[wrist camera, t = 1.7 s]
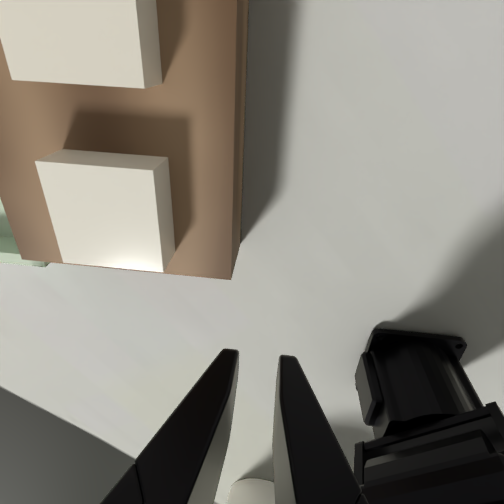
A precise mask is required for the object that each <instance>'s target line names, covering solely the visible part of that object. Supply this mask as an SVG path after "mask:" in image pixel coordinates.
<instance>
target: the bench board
mask: <svg viewBox="0 0 504 504" xmlns="http://www.w3.org/2000/svg"><path fill="white" fill-rule="evenodd" d="M156 7H157V20H158V33H159V45H160V58H161V71H162V84H161V85H157V86H153V87H149V88H145V89H142V88H127V87H112V86H97V85H81V84H66V83H51V82H35V81H20V80H12V78H11V75H10V71H9V68H8V64H7V60H6V57H5V53H4V50H3V46H2V43H1V39H0V199H1V202H2V204H3V207H4V210H5V213H6V216H7V219H8V221H9V224H10V227H11V230H12V233H13V236H14V238H15V241H16V244H17V247H18V250H19V253H20V255H21V258H22V260H32V261H42V262H52V263H62V264H71V263H63V260H62V257H61V253H60V249H59V246H58V242H57V239H56V235H55V232H54V228H53V224H52V221H51V217H50V214H49V210H48V207H47V203H46V199H45V196H44V192H43V189H42V185H41V182H40V178H39V175H38V171H37V167H36V164H35V161H36V160H38V159H41V158H43V157H45V156H48V155H50V154H52V153H55V152H57V151H59V150H62V149H68V150H81V151H94V152H107V153H120V154H133V155H146V156H159V157H168V162H169V175H170V188H171V200H172V213H173V226H174V239H175V253H174V255H173V257H172V258H171V260H170V262H169V264H168V265H167V267H166V269H165V271H164V272H155V273H165V274H175V275H185V276H196V277H206V278H216V279H226V280H231V278H232V274H233V270H234V266H235V262H236V259H237V255H238V251H239V247H240V236H241V208H242V180H243V152H244V125H245V97H246V69H247V41H248V14H249V0H156ZM73 265H81V264H73ZM83 266H91V265H83ZM93 267H102V266H93ZM103 268H112V267H103ZM114 269H122V268H114ZM124 270H133V269H124ZM134 271H143V270H134ZM144 272H153V271H144Z"/></svg>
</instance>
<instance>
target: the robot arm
mask: <svg viewBox="0 0 504 504" xmlns="http://www.w3.org/2000/svg"><path fill="white" fill-rule="evenodd" d="M378 335H381V336H378ZM466 347H467V344H466V342H465V340H464V339H463V338H461V337H455V336H445V335H436V334H426V333H416V332H407V331H397V330H387V329H375V330H373V331H372V333H371V335H370V338H369V342H368V345H367V348H366V351H365V352H363V353H362V354H361V357H360V360H359V363H358V367H357V370H356V373H355V380H356V383H355V385H356V390H357V391H358V395H359V400H360V405H361V410H362V415H363V420H364V422H365V424H366V425H367V426H372V427H373V432H374V436H375V439H374V440H371V441H367V442H364V441H362V442H359V443H355V457H354V473H353V471H352V469H351V467H350V465H349V463H348V461H347V459H346V457H345V455H344V453H343V451H342V449H341V447H340V445H339V443H338V441H337V439H336V437H335V435H334V433H333V431H332V429H331V427H330V425H329V423H328V421H327V419H326V416H325V414H324V412H323V410H322V408H321V406H320V404H319V402H318V400H317V398H316V396H315V394H314V392H313V390H312V388H311V386H310V384H309V382H308V380H307V378H306V376H305V374H304V372H303V370H302V368H301V366H300V364H299V362H298V360H297V358H296V357H295V356H289V355H280V357H279V363H278V370H277V378H276V392H275V408H274V424H273V444H272V447H273V472H274V492H275V504H504V415H503V413H502V411H501V410H500V408H499V407H498V405H497V403H496V402H492V403H488V404H485V405H486V406H485V407H484V406H483V404H482V402H481V400H480V399H479V397H478V395H477V393H476V391H475V389H474V388H473V386H472V384H471V382H470V380H469V378H468V377H467V375H466V373H465V371H464V369H463V367H462V366H461V364H460V362H459V360H460V358H461V356H462V354H463V353H464V351H465V349H466ZM238 369H239V351H238V350H235V349H223V350H222V351H221V352H220V353H219V354H218V356H217V357H216V358H215V359H214V361H213V362H212V363H211V365H210V366H209V367H208V368H207V370H206V371H205V372H204V373H203V375H202V376H201V377H200V378H199V380H198V381H197V382H196V384H195V385H194V386H193V387H192V389H191V390H190V391H189V392H188V394H187V395H186V396H185V397H184V399H183V400H182V401H181V403H180V404H179V405H178V406H177V408H176V409H175V410H174V411H173V413H172V414H171V415H170V416H169V418H168V419H167V420H166V422H165V423H164V424H163V425H162V427H161V428H160V429H159V430H158V432H157V433H156V434H155V435H154V437H153V438H152V439H151V441H150V442H149V443H148V444H147V446H146V447H145V448H144V449H143V451H142V452H141V453H140V454H139V456H138V457H137V458H136V460H135V464H134V463H133V464H131V466H130V467H129V468H128V469H127V471H126V472H125V473H124V475H123V476H122V477H121V478H120V480H119V481H118V482H117V483H116V484H115V486H114V487H113V488H112V489H111V490H110V492H109V493H108V494H107V495H106V497H105V498H104V499H103V500H102V501H101V502H100V504H213V503H214V499H215V495H216V491H217V487H218V483H219V479H220V475H221V472H222V468H223V464H224V460H225V456H226V452H227V447H228V443H229V438H230V432H231V425H232V418H233V410H234V403H235V396H236V388H237V381H238Z"/></svg>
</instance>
